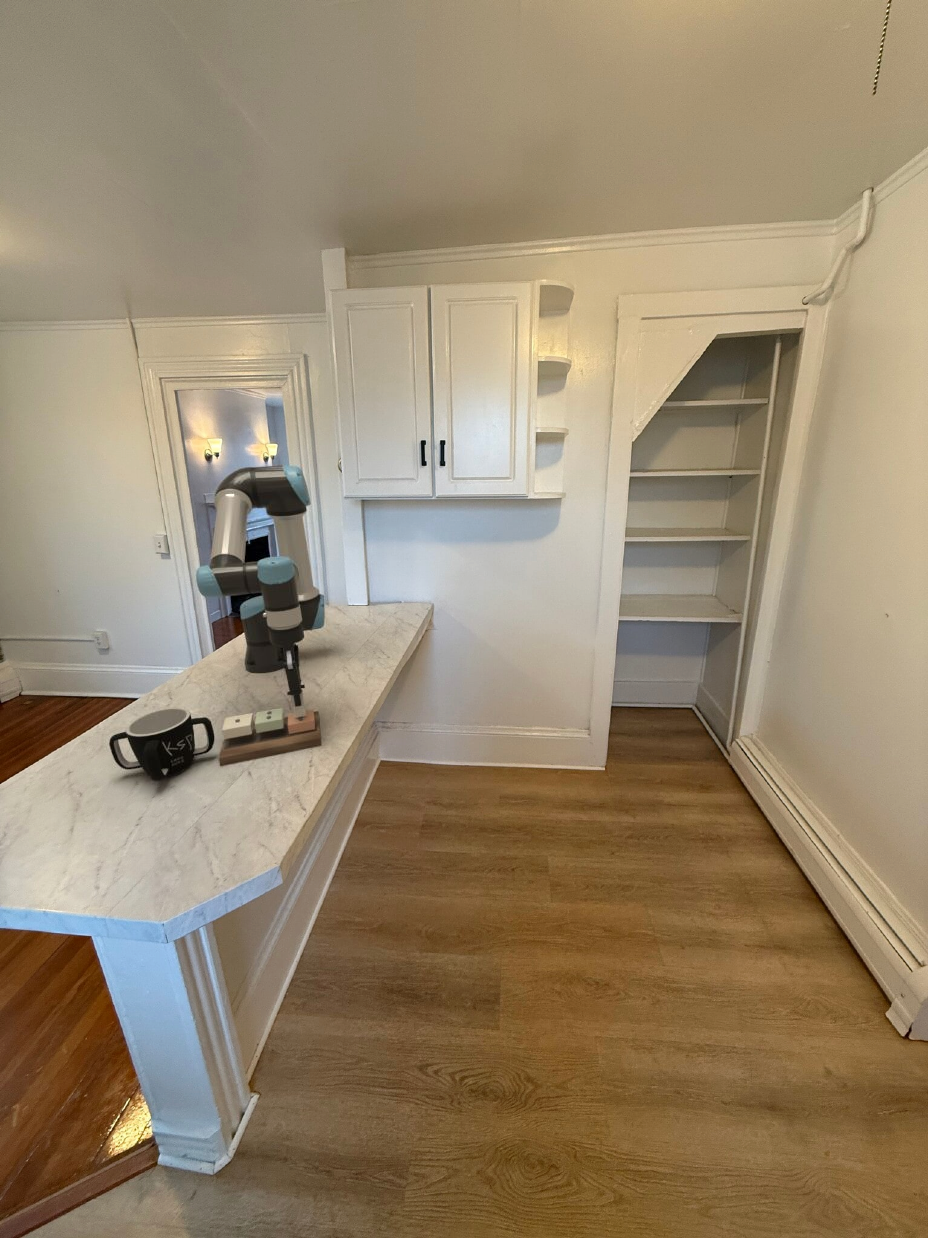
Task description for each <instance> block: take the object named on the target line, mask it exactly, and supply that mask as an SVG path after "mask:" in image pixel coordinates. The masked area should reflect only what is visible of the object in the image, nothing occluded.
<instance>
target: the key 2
mask: <svg viewBox="0 0 928 1238" xmlns="http://www.w3.org/2000/svg"><path fill="white" fill-rule="evenodd" d="M255 716H256V717H255V719H254V723H255V728H256V733H260V732H265V731H271V730H276V729H281V728H284V717H285V712H284V708H283V707H277V708H273V709H268V710H267V709H266V710H261V711H257V712H256V715H255Z"/></svg>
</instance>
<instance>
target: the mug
mask: <svg viewBox="0 0 928 1238" xmlns="http://www.w3.org/2000/svg"><path fill="white" fill-rule="evenodd" d="M191 715H192V714H191V711H190V710H188V709H186V708H185V707H184V708H183V707H167V708H161V709H158V710H154V711H150V712H148V713H146V714H143V715H140V716H139V717H137V718H135V719H134V720H132V721H131V722H130V723H128V725H127V726H126V727H125V731H122V732H119V733H116V734H113V735H112V736H111V737H110V739H109V748H110V752H111V756H112V757H113V760H114V761H115V763H116V765H118V766H119V768H121V769H123V770H127V771H129V770H136V769H137V770H138V769H142V770H143V771H144V773H145V774H146V775H147V776H149V777H150V778H151V780H152V781H155V782H160V781H163V780H164V779H166V778H168V777H172V776H175V775H178V774H180V773H181V772H183V771H185V770H186V769H188V768H189V767H190V766H191V765H192V764H193V762H194V758H195V757H196V756H201V755H204V754H207V753H209V752H210V751H211V750H212V749H213V747H214V745H215V732H214V728H213V724H212V721H211V720H210V719H209V717H205V716H204V717H194V718H192V716H191ZM196 725H203V727H204V729H205V733H206V741H207V743H206V745H204V746H202V747H198V748H195V747H196V743H195V742H196V741H195V730H194V726H196ZM124 739H127V741H128V743H129V746H130V748H131V751H132V753H133V754H134V756H135V758H136V760H135V761H129V760H127V759H126V758H125V757H124V754H123V753H122V750H121V747H120V742H119V741H120V740H124Z"/></svg>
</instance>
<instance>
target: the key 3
mask: <svg viewBox="0 0 928 1238" xmlns="http://www.w3.org/2000/svg"><path fill="white" fill-rule="evenodd" d="M314 712H315V711H314V708H311V709H308V710H306V716H302V717H297V718H295V717H294V712H291V713H287V714H288V715H287V717H288V730H289V734H293V733H298V732H303V731H308V730H314V729H315V717H314Z"/></svg>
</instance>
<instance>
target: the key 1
mask: <svg viewBox="0 0 928 1238" xmlns="http://www.w3.org/2000/svg"><path fill="white" fill-rule="evenodd" d="M254 723H255V718H254V715H253V712H252V713H251V712H250V713H246V714H245V713H244V714H241V715H235V716H228V717H225V718H224V722H223V726H222V729H221V732H222V735H223V740H224V739H229V738H234V737H239V736H244V735H250V734H252V731H253V726H254Z"/></svg>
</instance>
